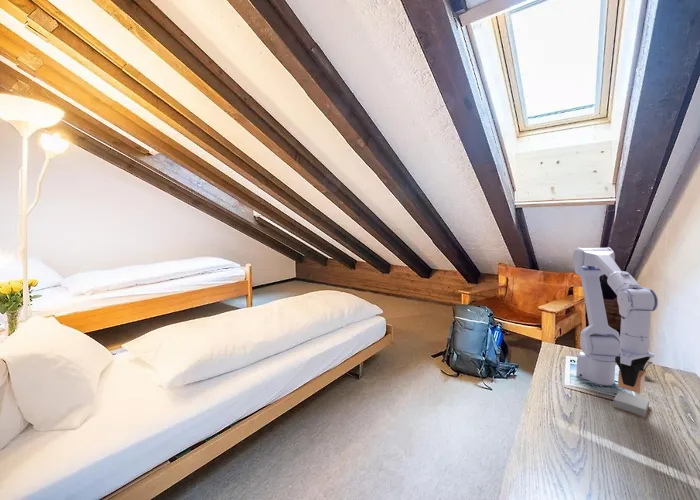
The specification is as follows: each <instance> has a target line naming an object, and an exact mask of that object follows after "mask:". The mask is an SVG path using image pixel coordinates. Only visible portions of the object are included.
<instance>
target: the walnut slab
mask: <svg viewBox="0 0 700 500" xmlns="http://www.w3.org/2000/svg"><path fill="white" fill-rule="evenodd" d="M613 404H614V402H613ZM613 404H612V405H611V407H612V408H615V409H618V410H620V411H623V412H626V413H629V414H631V415H633V416H637V417H640V418H642V419H646V418H647V416H648V415H649V413H650V412H651V410H652V407H651V406H649V408H648V410H647V413H646V415H645V417H643V416H640V415H637V414H635V413H632V412H629V411H626V410H623V409H620V408H617V407H614V406H613Z"/></svg>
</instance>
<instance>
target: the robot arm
mask: <svg viewBox="0 0 700 500" xmlns="http://www.w3.org/2000/svg"><path fill="white" fill-rule="evenodd" d="M615 257H616V254H615V252H614V250H613V249H612V248H611V247H609V246H607V247H583V248H582V247H576V248H575V250H574V252H573V255H572V263H573V268H574V272H575V274H577V275H578V276H580V280H581V286H582V292H583V298H584V304H585V309H586V310H585V311H586V314H587V321H588V326H586V327H585V328H583V329H581V331H580V335H579V336H580V340H579V341H580V342H579V345H580V349H581V351H580V352H578V355H577V359H576V373H575V374H576V377H579V378H582V379H585V380H587V381H589V382H592V383H594V384H598V385H601V386H602V385H603V386H612V385H614V384H615V378H616V377H615V376H616V375H615V374H616V365H617V366H618V369H619V370H620V372H621V376H622V380H623V384H625V385H628V386H631V387H634V385H635V383H636V380H637V376H638V374H639V371H640V370H641V371H643V369H644V366H645V364H646V362H647V361H648V362H649V360H650V359H651V358H654V357H655V352H651V351H649V346H650V345H649V344H650V333H651V316H652V312H654V311H656V310H657V309H658V306H659V298H658V295H657V294H656V292H655V290H654V289H652V288H649V287H648V288H647V287H645V286H641V284H640V283H639V282H638V281H637V280H636V279H635V277H633V276H632V275H631V274H630V273H629V271H625V270H624V271H623V270H621V268H620V267H619V265H618V264H617V262H616V261H615V259H616V258H615ZM604 275H605V276H606V277H607V280H606V282H607V285H608V286H609V287H610V289H611V290H612V291H613V292H614V294H615V295H616V301H617V305H618V313H619V315H620V331H617V329H614V328H612V327H611V326H610V325H609V323H608V322H609V321H608V317H607V311H606V307H605V302H604V295H603V290H602V287H601V281H600V279H601V276H604ZM615 362H616V363H615Z"/></svg>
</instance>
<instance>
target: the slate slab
mask: <svg viewBox="0 0 700 500" xmlns="http://www.w3.org/2000/svg"><path fill="white" fill-rule="evenodd" d="M613 403H614V404H612V405H613V406H614V407H613V408H615V407H617V408H620V409H623V410H626V411H629V412H632V413H635V414H637V415H640V416H643V417H645V415H646V413H647V410H648V408H649V407H650V399H647V398H643V397H641V396H638V395H634V394H631V393H627V392H625V391H622V390H618V392H617V394H616V395H615V397H614V398H613ZM617 408H616V409H617ZM620 409H619V410H620ZM623 410H622V411H623Z"/></svg>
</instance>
